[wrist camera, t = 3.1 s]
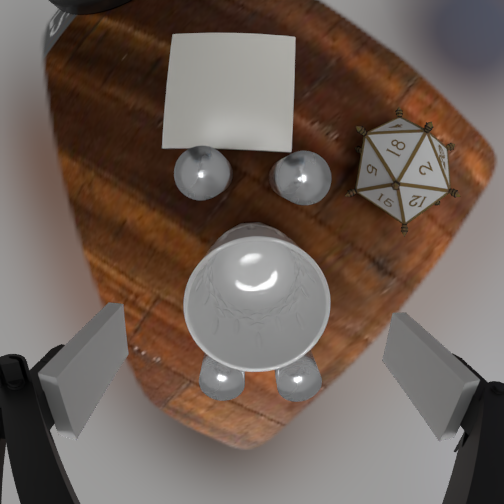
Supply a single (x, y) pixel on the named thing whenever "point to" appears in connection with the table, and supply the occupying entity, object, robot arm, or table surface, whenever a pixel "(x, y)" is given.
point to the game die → (402, 169)
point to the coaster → (230, 92)
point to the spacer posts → (289, 187)
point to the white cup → (256, 300)
